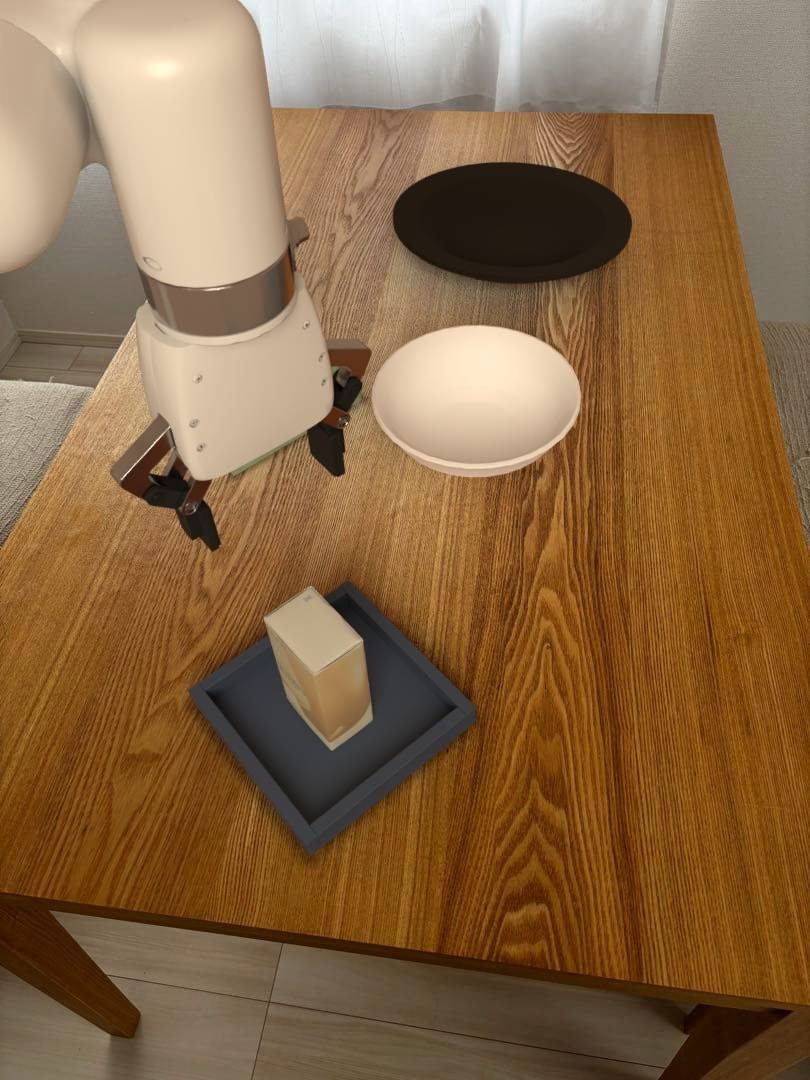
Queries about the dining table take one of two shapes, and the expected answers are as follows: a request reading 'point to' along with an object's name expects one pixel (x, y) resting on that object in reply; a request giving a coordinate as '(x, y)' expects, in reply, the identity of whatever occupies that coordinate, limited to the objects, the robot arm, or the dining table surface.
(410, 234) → the plate
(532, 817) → the dining table surface
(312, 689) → the cosmetic box
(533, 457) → the bowl
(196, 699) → the slate tray
